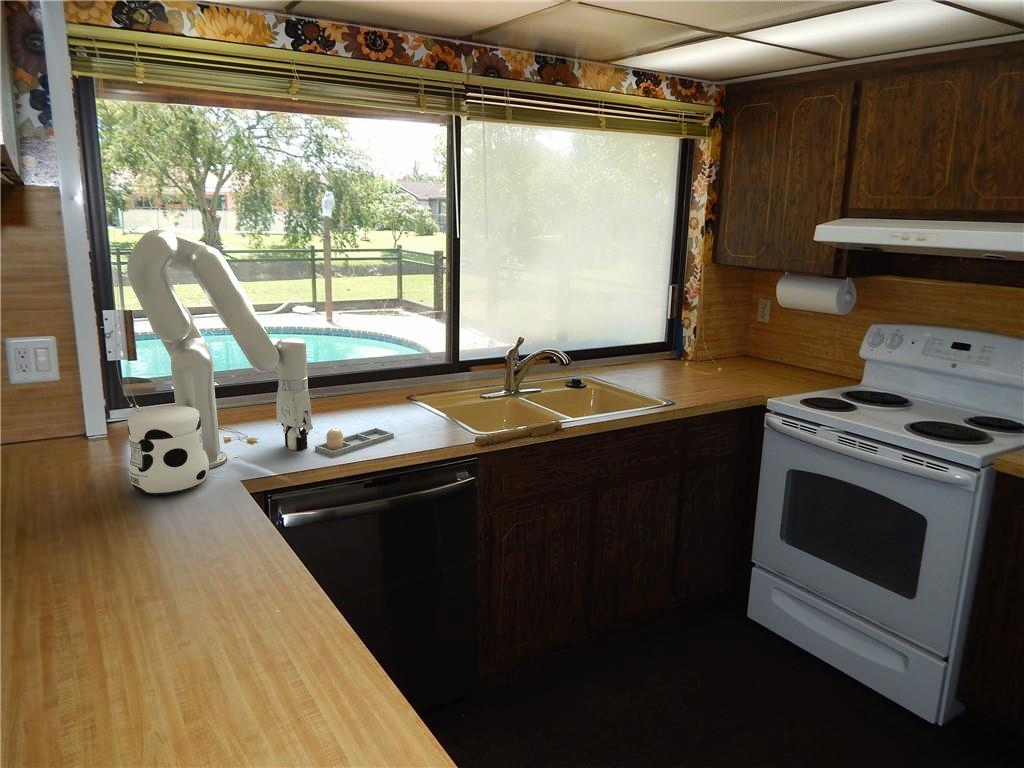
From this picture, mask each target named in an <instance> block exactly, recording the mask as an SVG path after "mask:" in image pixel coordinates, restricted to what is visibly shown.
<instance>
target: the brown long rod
mask: <svg viewBox="0 0 1024 768" xmlns="http://www.w3.org/2000/svg"><path fill="white" fill-rule="evenodd" d="M562 427H563V424H562V422H561V421H559V420H555V421H554V422H553V421H551V420H544V421H539V422H538V421H537V422H535V423H529V424H526V426H524V427H523V428H519V429H512V430H506V431H499V432H494V433H493V432H492V433H490V434H486V435H478V436H475V438H474V443H475V446H478V447H480V446H485V445H486V444H487V445H490V444H495V443H500V442H505V441H508V440H513V439H516V438H520V437H528V436H529V437H535V436H536V437H537V436H541V435H547V434H551V433H554V431H555V430H556V431H559V430H561V428H562Z"/></svg>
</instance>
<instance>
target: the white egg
mask: <svg viewBox="0 0 1024 768" xmlns="http://www.w3.org/2000/svg"><path fill="white" fill-rule="evenodd" d="M302 429H303V428H300V431H301V430H302ZM287 437H288V447H287V448H288V450H291V451H297V450H296V437H297V432H296V428H294V427H293V428H291V429H290V430H289V431H288V434H287Z"/></svg>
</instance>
